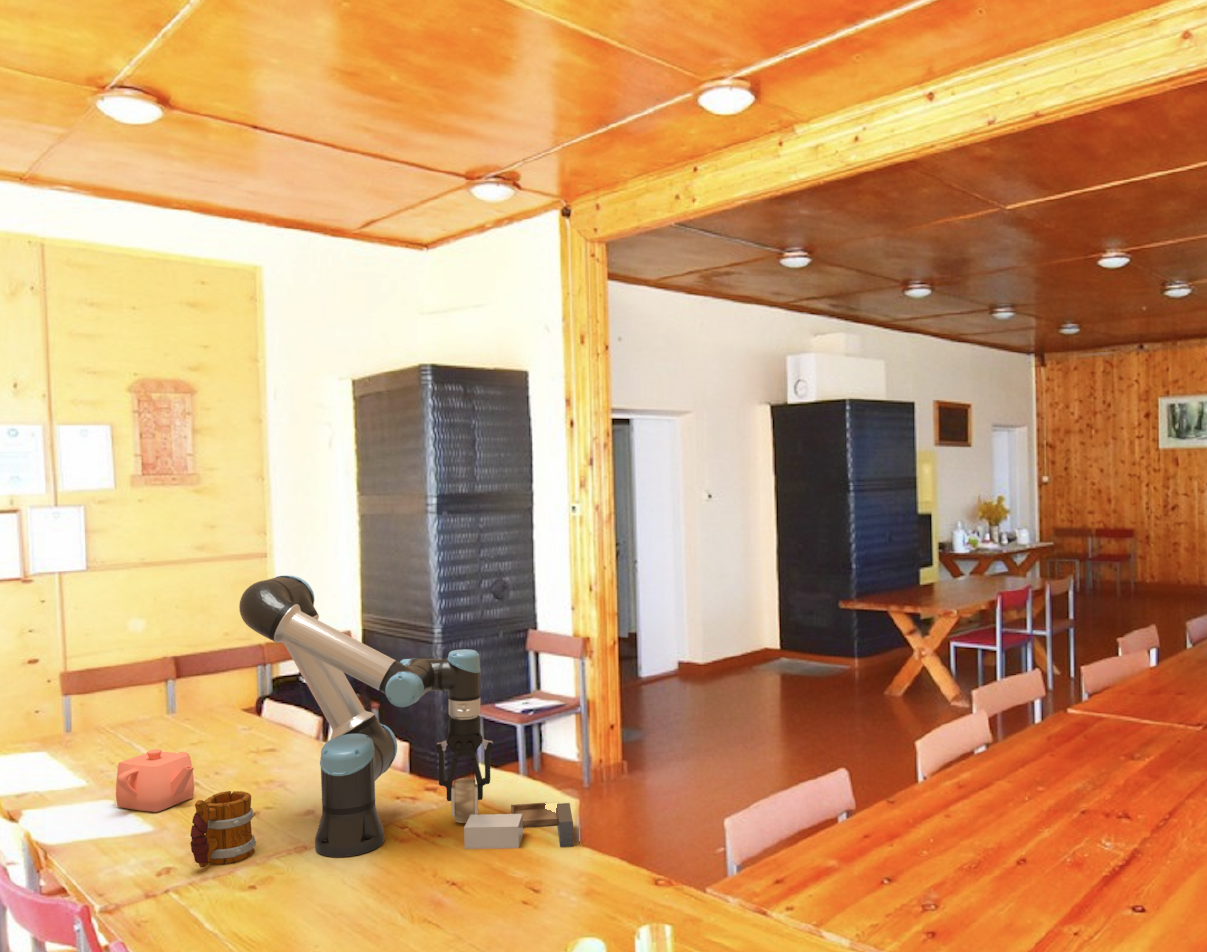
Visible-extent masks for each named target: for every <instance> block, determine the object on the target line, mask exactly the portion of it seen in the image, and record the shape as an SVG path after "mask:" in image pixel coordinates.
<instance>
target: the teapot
mask: <svg viewBox="0 0 1207 952" xmlns="http://www.w3.org/2000/svg"><path fill="white" fill-rule="evenodd" d="M193 771H194V767H193V764H192V759H191V755H189V753H188V752H187V751H186V752H184V751H182V752H171V751H163V750H162V749H159V748H156V749H150V750H148V751H147V752H146V753H143V754H139V755H137V756H134V757H131V758H128V759H125V760H123V761H120V762H118V766H117V773H116V783H115V798H116V799H115V800H116V805H117V807H119V808H123V809H130V810H136V811H143V812H155V813H157V812H161V811H163V810H166V809H168V808H171V807H173V806H176V805H178V804H181V803H184V802H185V801H188V800H190V799H192V798H193V797H194V791H195V780H194V772H193Z"/></svg>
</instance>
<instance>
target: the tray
mask: <svg viewBox="0 0 1207 952" xmlns="http://www.w3.org/2000/svg"><path fill="white" fill-rule="evenodd" d="M545 803H546V802H537V803H535V802H534V803H521V804H520V803H519V804H518V803H517V804H516V803H515V804H510V814H522V816H523V829H526V827H527V828H537V827H539V828H541V827H555V826H557V808H556V813H555V812H552V811H551V810H547V809H545V805H546V804H545Z"/></svg>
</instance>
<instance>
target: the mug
mask: <svg viewBox="0 0 1207 952" xmlns="http://www.w3.org/2000/svg"><path fill="white" fill-rule="evenodd" d="M251 804H252V795H251V794H250V793H249V792H246V791H241V790H238V791H237V790H235V791H234V790H233V791H230V790H226V791H222V792H217V793H215V794H213V795H212V796H209V797H208V798H206V799H205V800H202V799H199V800H196V802H195V803H194V807H195V813H194V815H193V816H192V821H191V823H192V824H193V825H192V826H191V830H190V837H191V841H190V851H191V853H192V855H193V857H194V861H195V862H196V863H197V864H198V865H199V868H206V867H208V866H209V864H210V865H225V864H226V865H228V864H229V863H230V864H232V863H237V862H240V861H243V860H246V859H247V858H250V857H251V856H252V855H254V853H255V847H256V845H257V841H256V839H255V836H254V834H253V833H252V832H253V831H252V823H251V822H252V819H253V818H254V817H255V813H254V812H253V808H252V807H251V806H252V805H251ZM230 864H229V865H230Z"/></svg>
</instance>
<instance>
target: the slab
mask: <svg viewBox="0 0 1207 952" xmlns="http://www.w3.org/2000/svg"><path fill="white" fill-rule="evenodd" d="M463 836H464V838H463V839H464V841H463V842H464V850H482V849H484V850H485V849H486V850H487V849H490V850H491V849H493V850H494V849H519V848H520V845H521V841H522V839H523V837H524V828H523V816H522V814H511V813H495V814H491V813H490V814H487V813H486V814H478V815H470V817H469V819H468V821H467V823H465V824H464V827H463Z"/></svg>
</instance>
